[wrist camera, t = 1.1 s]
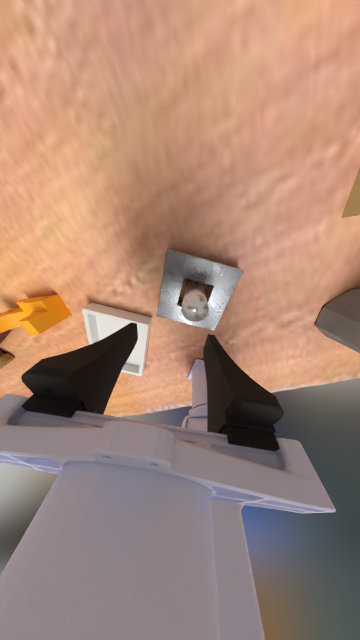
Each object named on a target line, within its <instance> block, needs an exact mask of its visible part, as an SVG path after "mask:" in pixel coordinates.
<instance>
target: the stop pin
mask: <svg viewBox="0 0 360 640" xmlns="http://www.w3.org/2000/svg"><path fill="white" fill-rule="evenodd" d="M181 312H182V315H183V316H184V317H185V318H186V319H187V320H189V321H192V322H197V321H201V320H203V319H204V318H205V317H206V316H207V314H208V312H209V307H208V303H207V298H206V294H205V290H204V286H203V285H202V283H200V282H198V281H191V282H189V283H188V284H187V285H186V287H185V291H184V297H183V302H182V308H181Z"/></svg>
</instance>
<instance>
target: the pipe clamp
mask: <svg viewBox="0 0 360 640" xmlns="http://www.w3.org/2000/svg"><path fill="white" fill-rule="evenodd" d="M16 303H17V304H18V305H19V307H20V308H14V309H11V310H8V311H6V312H3V313H0V333H2V332H5V331H7V330H10V329H13V328H16V327H19V326H22V327H23V328H24V329H25V330H26V331H27V332H28V333H29V334H30V335H34V334H41V333H43V332H44V331H46V330H48V329H49V328H51V327H53V326H54V325H56V324H57V323H59V322H61V321H62V320H64V319H66V318H67V317H69V316H71V315H72V314H71V313H70V311H69V310H68V308H67V307H66V305H65V304H64V302H63V301H62V299H61V298H60V296H59V295H50V296H41V297H32V298H28V299H25V300H22V301H19V302H16Z"/></svg>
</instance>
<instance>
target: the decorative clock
mask: <svg viewBox="0 0 360 640" xmlns="http://www.w3.org/2000/svg"><path fill="white" fill-rule="evenodd" d="M356 215H360V168H359V171H358V174H357V177H356V179H355V182H354V185H353V188H352V190H351V193H350V196H349V198H348V201H347V204H346V207H345V209H344V212H343V215H342V218H344V217H350V216H356Z"/></svg>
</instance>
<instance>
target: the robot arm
mask: <svg viewBox="0 0 360 640" xmlns="http://www.w3.org/2000/svg"><path fill="white" fill-rule="evenodd" d="M137 340H138V330H137V323H132V322H131V323H129V324H128V325H126V326H124V327H123V328H121V329H119V330H118V331H116V332H114V333H113V334H111V335H109V336H107V337H105V338H104V339H102V340H99V341H97V342H95V343H93V344H90V345H88V346H85V347H83V348H80V349H77V350H74V351H71V352H68V353H65V354H61V355H57V356H53V357H49V358H45V359H42V360H41V361H39V362H38V363H37V364H35V365H34V366H33V367H32V368H30V369H29V370H28V371H26V372H25V373H24V374H23V375H22V381H23V383H24V384H25V385H26V386H27V387H28V388H29V389H30V390H31V391H32V392H33V393H34V394H33V395H32V396H31V397H30V398H27V397H25V396H20V395H14V394H6V395H4V396H3V397H2V398H1V399H0V463H5V464H10V465H15V466H20V467H25V468H30V469H35V470H40V471H44V472H50V473H54V474H59V475H58V477H57V479H56V480H55V482H54V484H53V486H52V487H51V489H50V491H49V492H48V494H47V496H46V498H45V499H44V501H43V503H42V505H41V506H40V508H39V510H38V512H37V513H36V515H35V517H34V518H33V520H32V522H31V524H30V526H29V527H28V529H27V531H26V532H25V534H24V536H23V538H22V539H21V541H20V543H19V544H18V546H17V548H16V550H15V551H14V553H13V555H12V557H11V559H10V560H9V562H8V564H7V565H6V567H5V569H4V571H3V572H2V574H1V576H0V640H265V637H264V632H263V627H262V621H261V616H260V611H259V606H258V600H257V595H256V589H255V584H254V579H253V574H252V568H251V563H250V558H249V553H248V547H247V542H246V537H245V531H244V526H243V521H242V516H241V509H242V508H243V506H244V505H250V506H258V507H265V508H272V509H279V510H285V511H292V512H298V513H323V512H335V510H336V509H335V508H334V506H333V504H332V502H331V500H330V498H329V496H328V494H327V492H326V491H325V489H324V487H323V485H322V483H321V481H320V479H319V477H318V475H317V474H316V472H315V470H314V468H313V466H312V464H311V462H310V460H309V458H308V457H307V455H306V453H305V451H304V449H303V447H302V445H301V443H300V442H299V441H296V440H290V439H284V438H277V439H276V437H275V435H274V433H275V428H274V426H273V424H275V423H276V422H277V421H278V420H280V419H281V418H282V417H283V414H284V412H283V410H282V408H281V406H280V404H279V402H278V400H277V399H276V397H275V396H274V395H272V394H271V393H270V392H268V391H267V390H266V389H264V388H263V387H261V386H260V385H259V384H258V383H256V382H255V381H254V380H253V379H251V378H250V377H249V376H248V375H247V374H246V373H245V372H243V371H242V370H241V369H240V368H239V367H238V366H237V365H236V364H235V362H234V361H233V360H232V359H231V358H230V357H229V355H228V354H227V353H226V352H225V350H224V349H223V348H222V346H221V345H220V343H219V342H218V340H217V339H216V337H215V336H214V335H209V334H208V336H207V339H206V343H205V346H204V349H203V355H204V360H200V359H196V360H195V362H194V365H193V367H192V369H191V371H190V373H189V375H188V378H187V379H188V380H190V381H192V409H190V410H189V416H186V418H185V419H184V421H183V423H182V427H176V426H169V425H163V424H157V423H151V422H145V421H138V420H133V419H126V418H120V417H114V416H108V415H103V414H104V411H105V408H106V406H107V403H108V400H109V398H110V395H111V393H112V390H113V388H114V386H115V383H116V381H117V379H118V377H119V374H120V372H121V370H122V368H123V366H124V365H125V363H126V361H127V360H128V358H129V356H130V354H131V353H132V351H133V349H134V348H135V345H136V343H137ZM199 361H200V362H199Z"/></svg>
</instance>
